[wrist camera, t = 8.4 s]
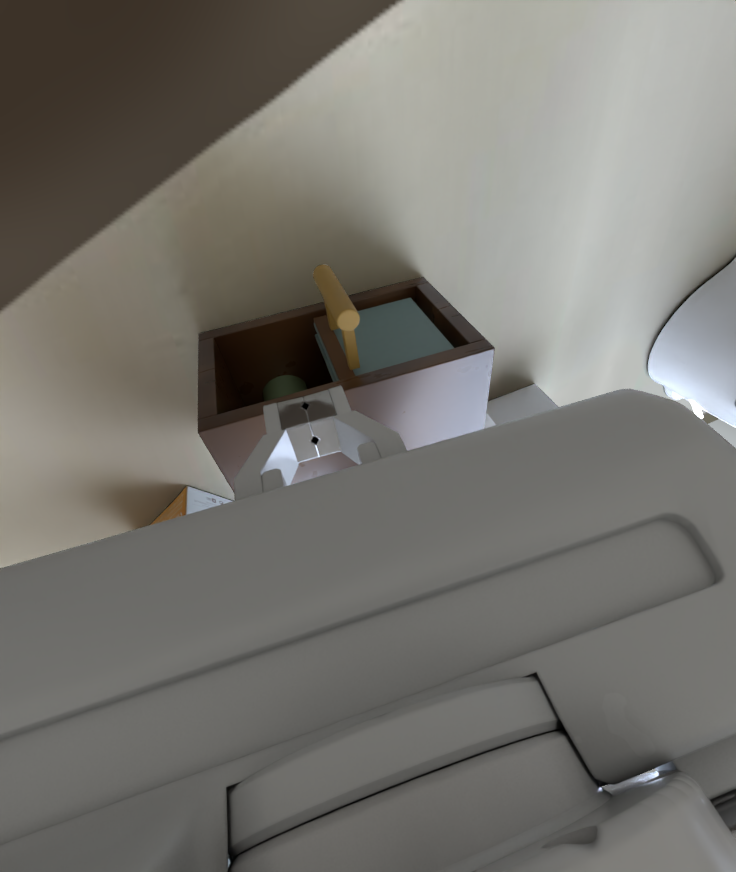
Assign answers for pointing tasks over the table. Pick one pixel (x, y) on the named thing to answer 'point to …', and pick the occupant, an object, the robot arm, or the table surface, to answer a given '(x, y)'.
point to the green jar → (283, 387)
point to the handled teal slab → (371, 331)
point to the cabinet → (366, 393)
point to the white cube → (517, 405)
